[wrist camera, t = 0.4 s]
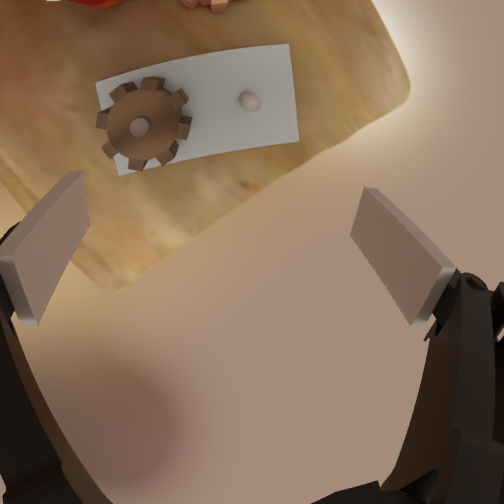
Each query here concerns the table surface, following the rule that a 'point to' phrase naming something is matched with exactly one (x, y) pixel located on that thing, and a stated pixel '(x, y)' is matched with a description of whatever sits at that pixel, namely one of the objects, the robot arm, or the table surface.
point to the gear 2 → (217, 4)
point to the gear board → (223, 100)
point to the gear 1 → (144, 122)
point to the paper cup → (97, 2)
